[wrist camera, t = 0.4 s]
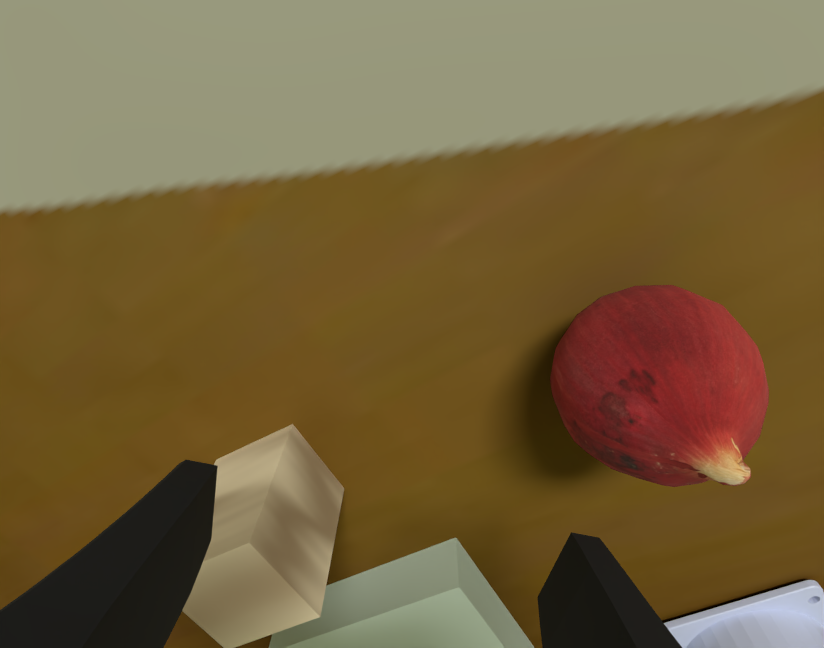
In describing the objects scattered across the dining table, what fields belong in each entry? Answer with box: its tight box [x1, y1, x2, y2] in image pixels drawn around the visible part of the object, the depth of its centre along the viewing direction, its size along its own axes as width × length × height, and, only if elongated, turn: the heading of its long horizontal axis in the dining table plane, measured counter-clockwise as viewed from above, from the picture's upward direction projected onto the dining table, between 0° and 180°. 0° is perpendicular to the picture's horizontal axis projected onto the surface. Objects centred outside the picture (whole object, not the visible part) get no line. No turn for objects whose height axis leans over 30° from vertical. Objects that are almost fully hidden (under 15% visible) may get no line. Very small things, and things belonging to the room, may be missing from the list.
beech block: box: [182, 424, 344, 648], centre depth 20 cm, size 4×4×6 cm
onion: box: [550, 285, 769, 487], centre depth 15 cm, size 6×6×8 cm
